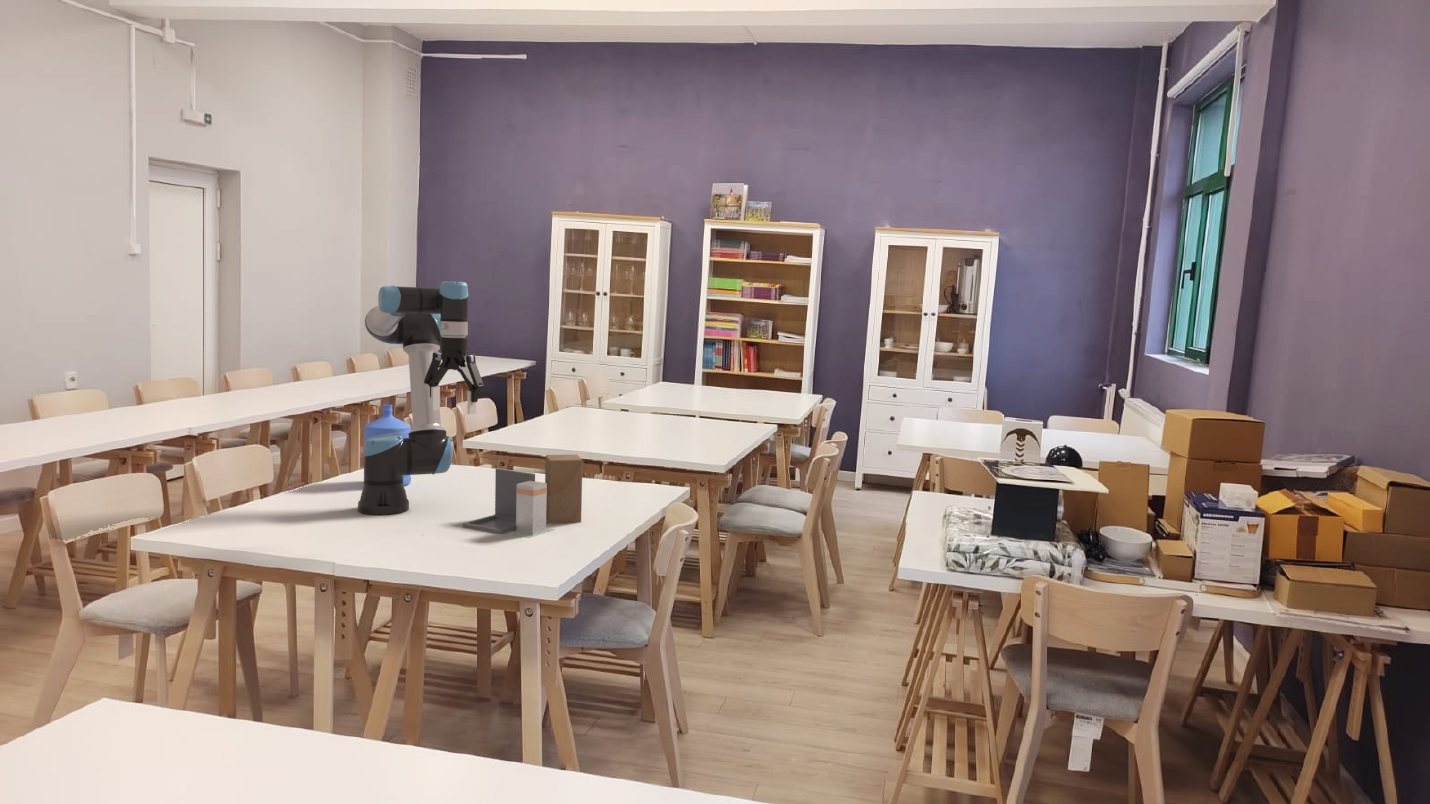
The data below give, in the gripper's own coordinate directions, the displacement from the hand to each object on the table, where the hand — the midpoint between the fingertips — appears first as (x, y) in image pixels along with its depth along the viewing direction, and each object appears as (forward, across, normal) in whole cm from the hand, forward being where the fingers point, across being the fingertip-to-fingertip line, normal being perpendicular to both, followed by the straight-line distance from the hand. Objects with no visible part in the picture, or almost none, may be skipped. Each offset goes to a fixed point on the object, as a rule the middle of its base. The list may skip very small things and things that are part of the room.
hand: (453, 411), depth 281 cm
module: (+34, +20, +10) cm, 41 cm away
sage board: (+35, +20, +10) cm, 42 cm away
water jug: (+35, -65, +37) cm, 83 cm away
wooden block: (+35, +18, +28) cm, 48 cm away
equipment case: (+35, +8, +10) cm, 37 cm away
